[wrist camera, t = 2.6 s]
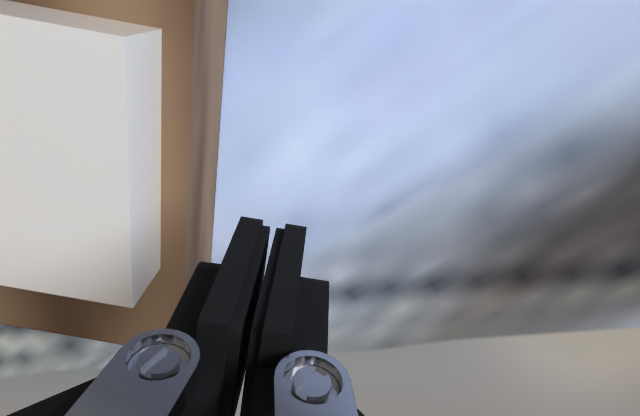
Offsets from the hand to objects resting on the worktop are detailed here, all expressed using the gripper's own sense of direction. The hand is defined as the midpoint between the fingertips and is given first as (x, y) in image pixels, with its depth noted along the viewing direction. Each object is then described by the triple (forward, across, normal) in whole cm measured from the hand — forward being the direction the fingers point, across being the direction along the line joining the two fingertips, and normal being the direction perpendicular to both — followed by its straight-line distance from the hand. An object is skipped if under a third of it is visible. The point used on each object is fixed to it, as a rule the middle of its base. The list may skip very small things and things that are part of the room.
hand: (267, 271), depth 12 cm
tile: (+5, +8, 0) cm, 9 cm away
